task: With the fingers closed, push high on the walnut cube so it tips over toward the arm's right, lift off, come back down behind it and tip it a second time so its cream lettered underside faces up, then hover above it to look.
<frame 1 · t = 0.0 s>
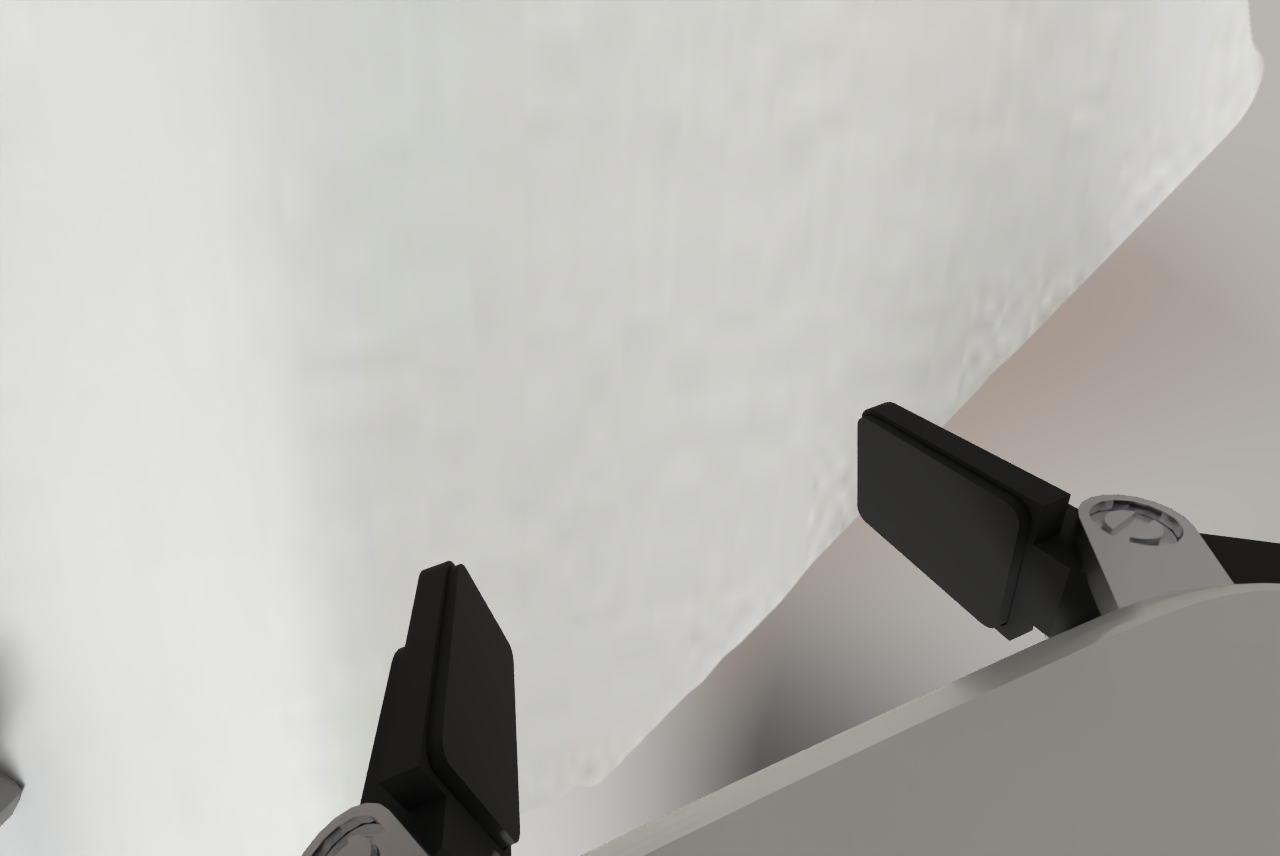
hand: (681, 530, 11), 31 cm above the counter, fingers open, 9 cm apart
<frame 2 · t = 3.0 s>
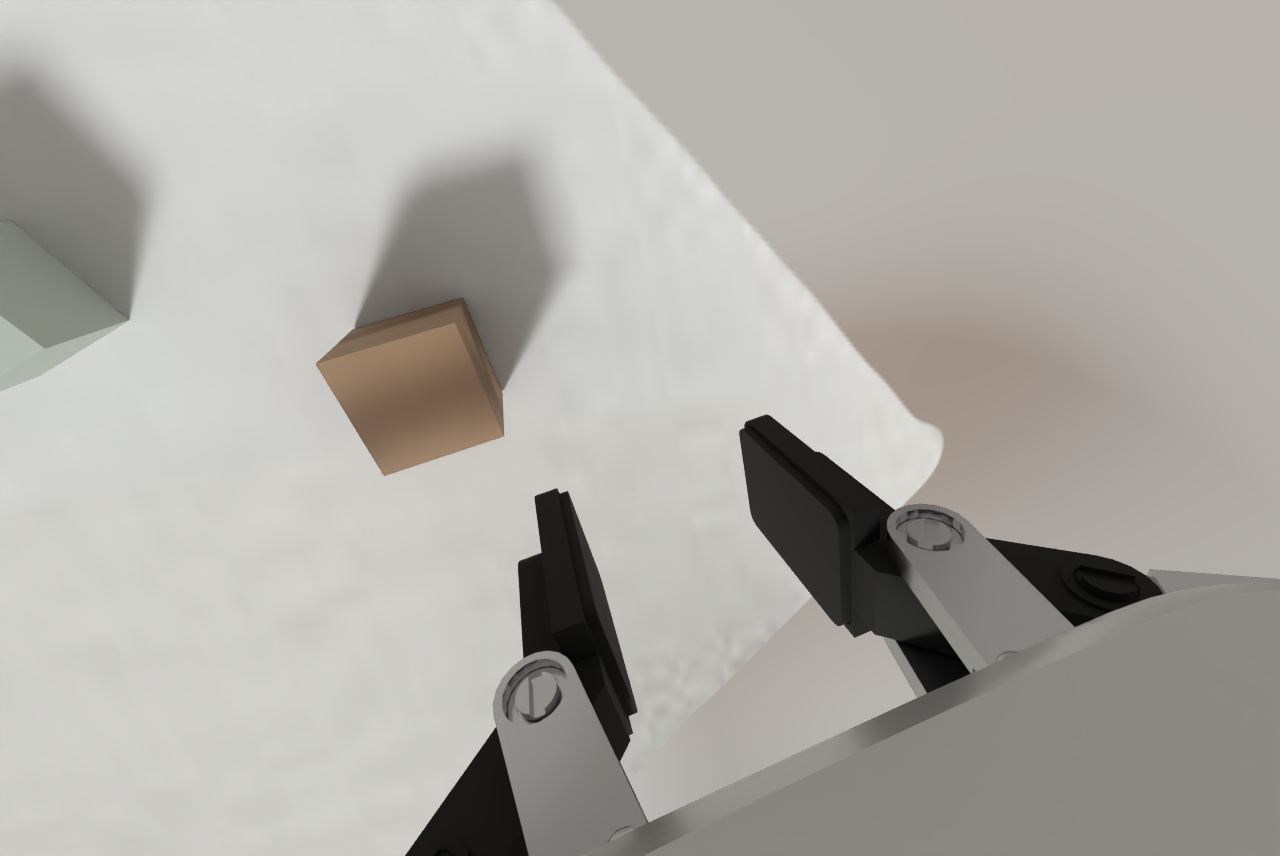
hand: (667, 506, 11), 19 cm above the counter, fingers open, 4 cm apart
sage block: (28, 302, 21), on the counter
walnut block: (432, 363, 27), on the counter
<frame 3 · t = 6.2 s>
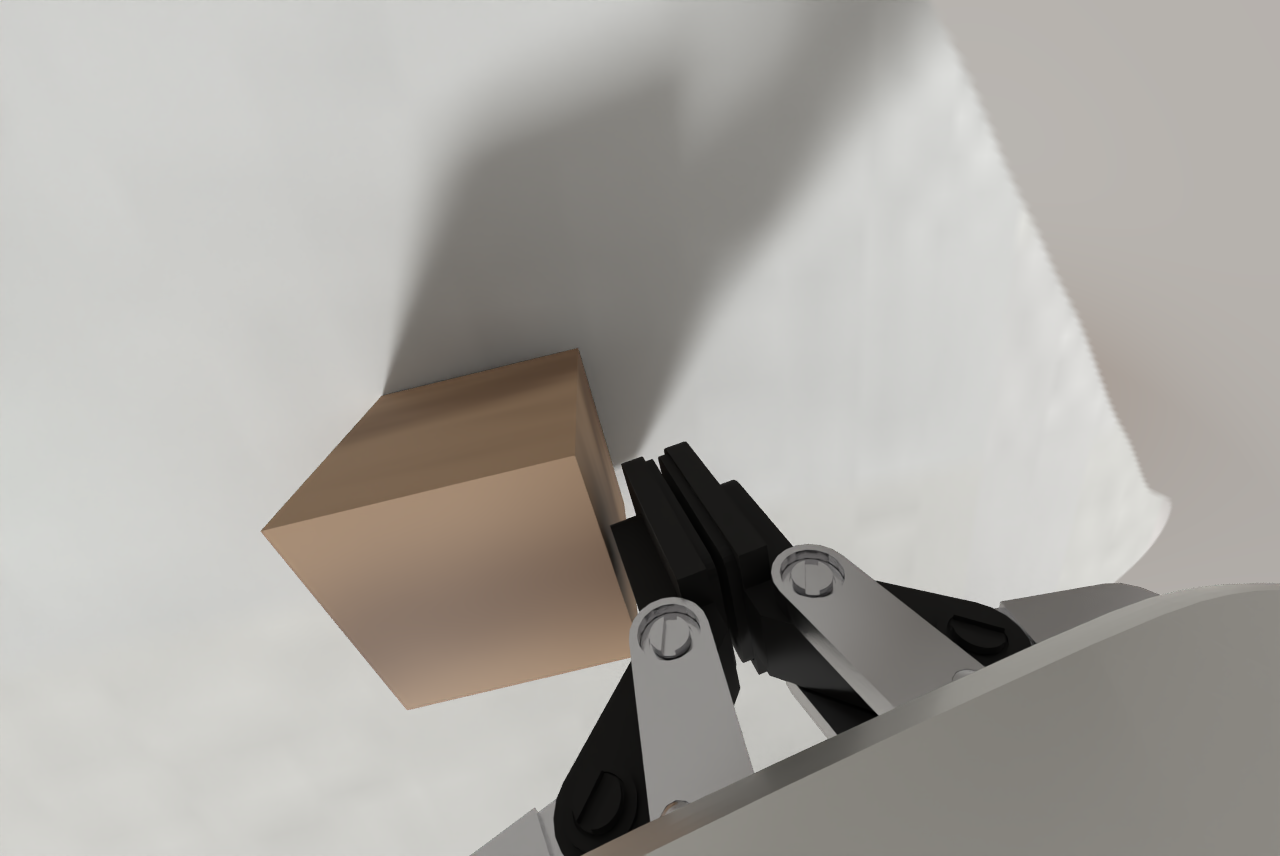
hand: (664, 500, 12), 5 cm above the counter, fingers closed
walnut block: (514, 454, 15), on the counter, tilted 10°, touching gripper
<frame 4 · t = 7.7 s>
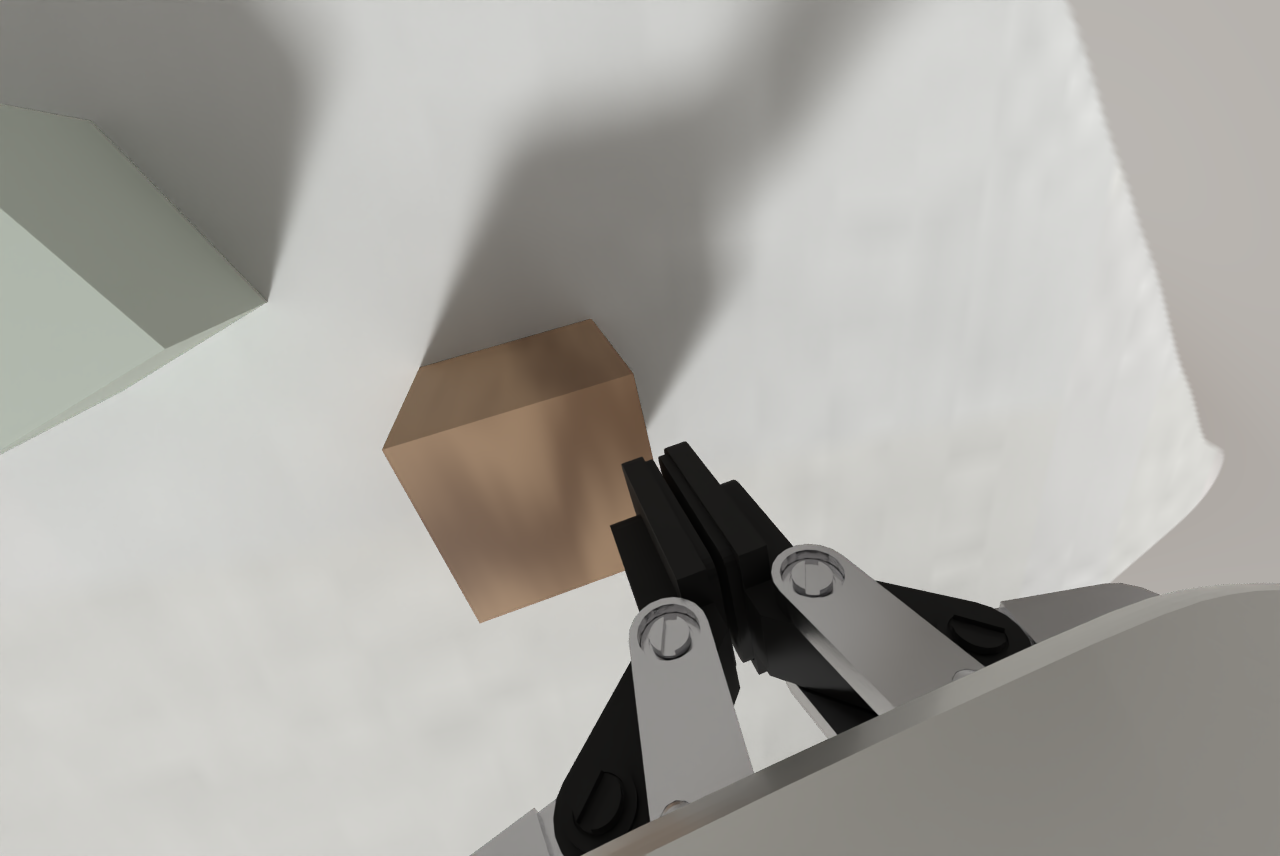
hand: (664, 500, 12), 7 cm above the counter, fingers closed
sage block: (110, 269, 13), on the counter
walnut block: (629, 426, 15), point 3 cm above the counter, tilted 90°
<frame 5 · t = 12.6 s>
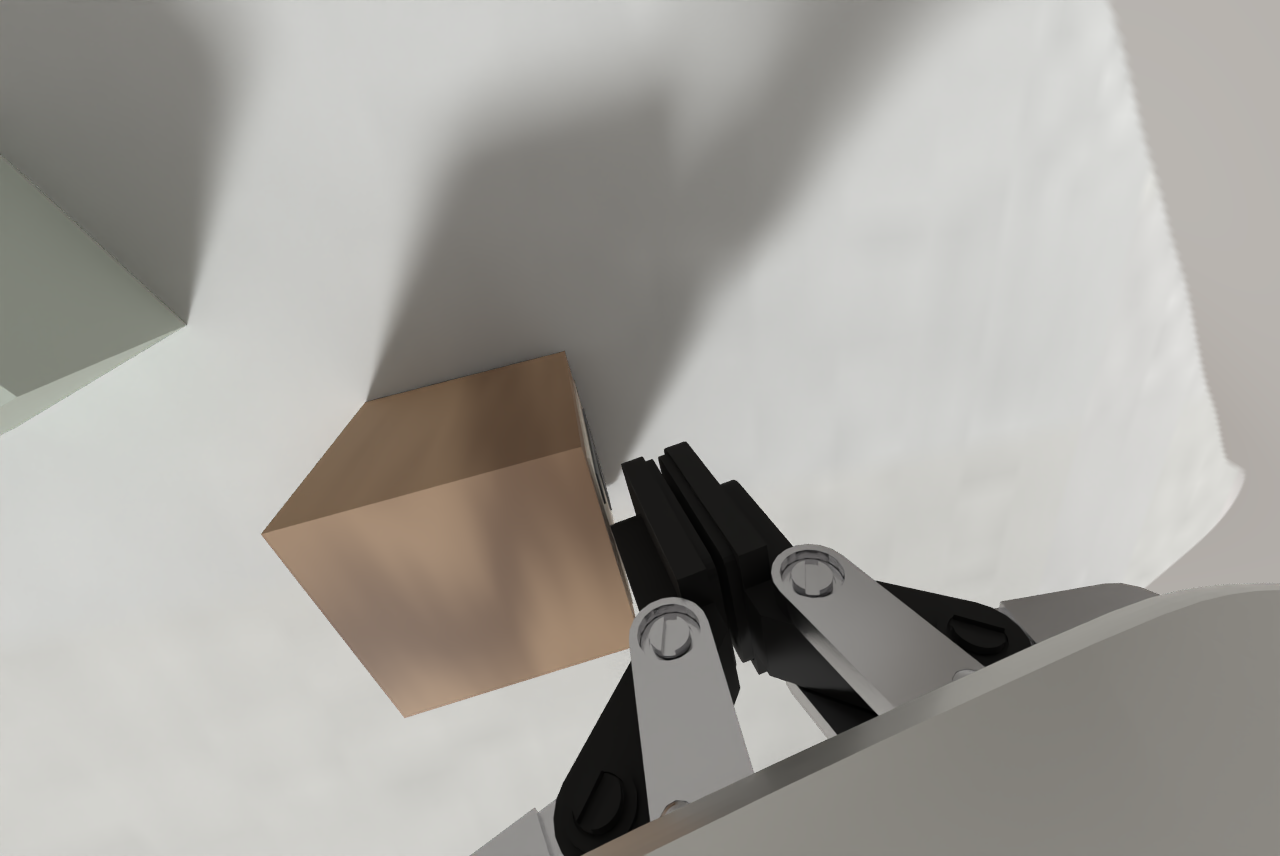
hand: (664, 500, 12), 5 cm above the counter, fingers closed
walnut block: (599, 484, 13), point 3 cm above the counter, tilted 95°, touching gripper
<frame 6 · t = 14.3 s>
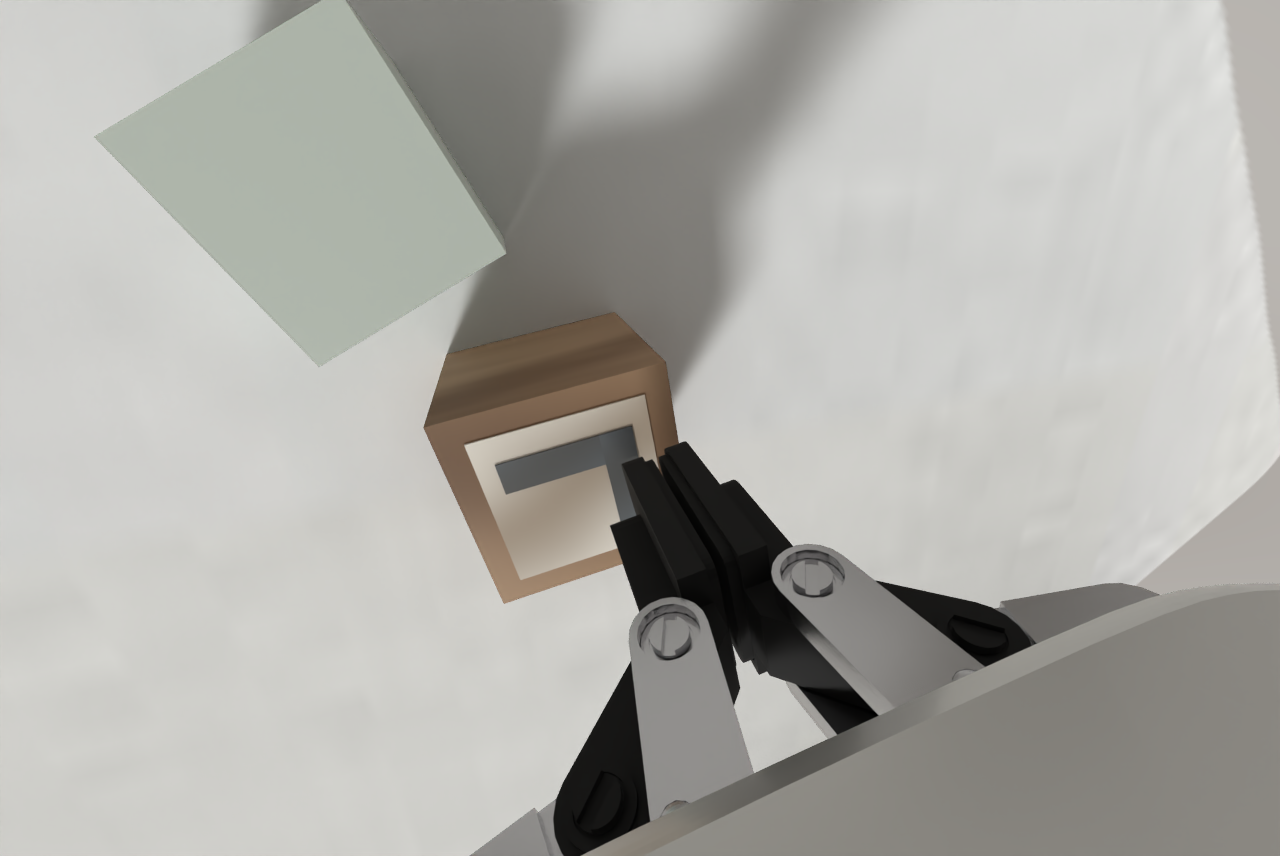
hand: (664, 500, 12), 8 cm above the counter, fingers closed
sage block: (380, 201, 14), on the counter
walnut block: (578, 491, 13), point 6 cm above the counter, tilted 180°
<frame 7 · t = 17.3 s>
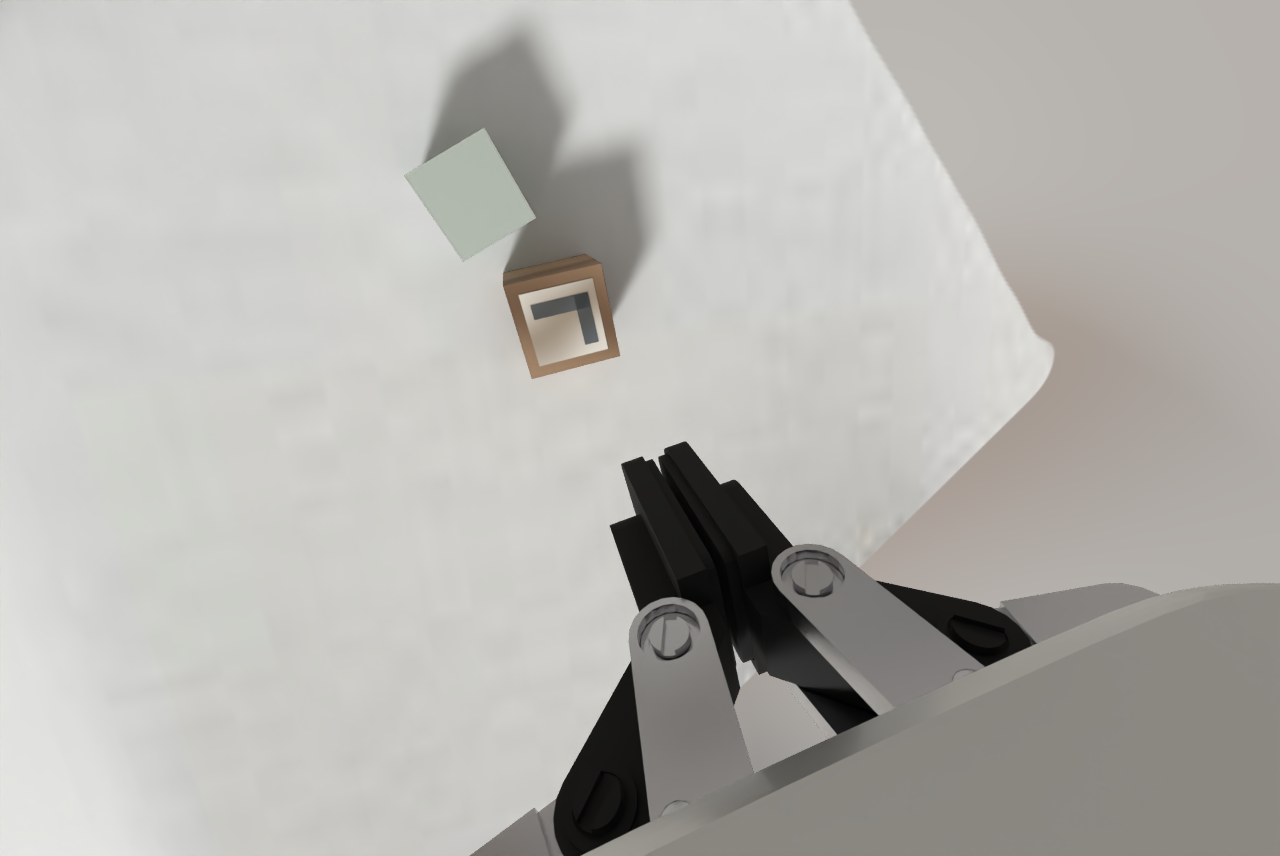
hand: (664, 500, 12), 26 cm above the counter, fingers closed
sage block: (477, 198, 31), on the counter
walnut block: (565, 323, 30), point 6 cm above the counter, tilted 180°
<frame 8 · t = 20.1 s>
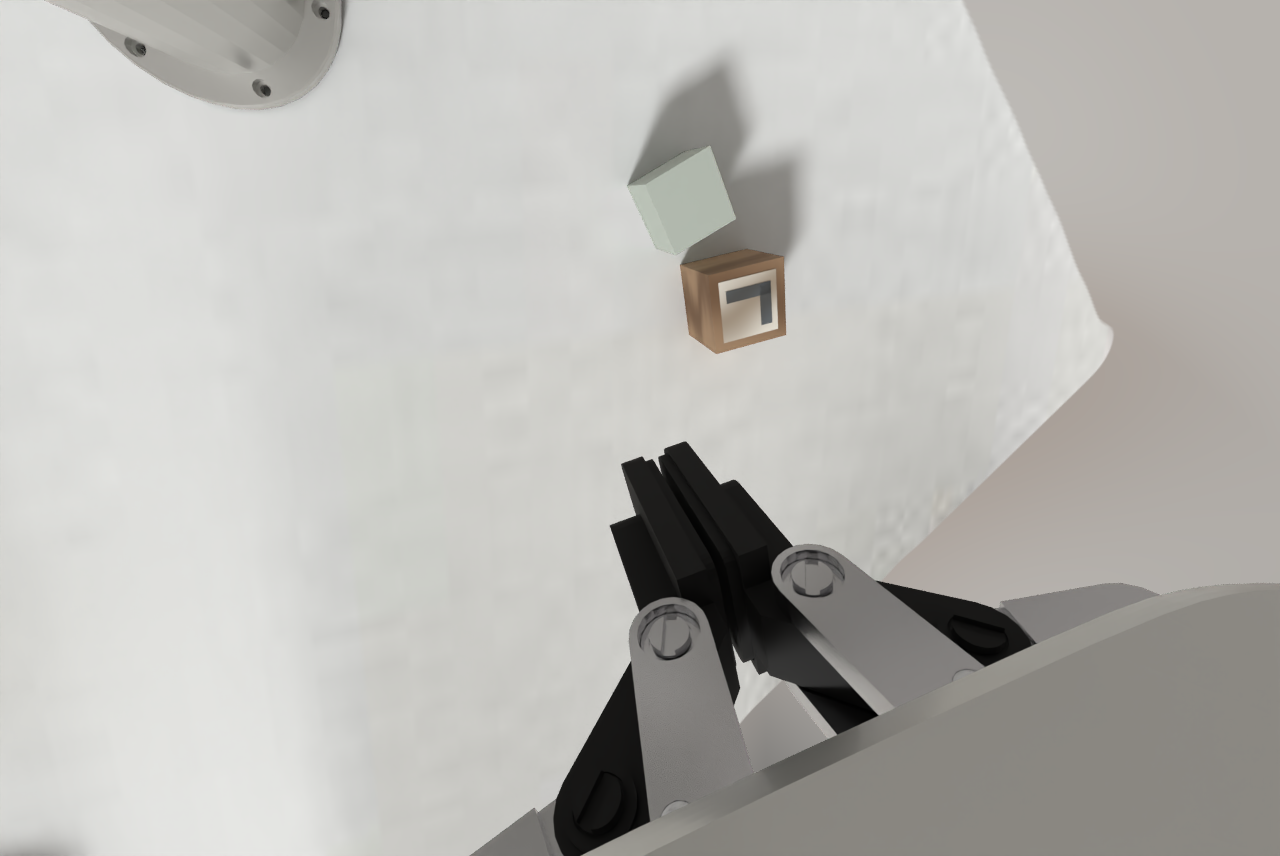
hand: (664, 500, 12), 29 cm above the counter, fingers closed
sage block: (669, 201, 36), on the counter
walnut block: (749, 306, 35), point 6 cm above the counter, tilted 180°
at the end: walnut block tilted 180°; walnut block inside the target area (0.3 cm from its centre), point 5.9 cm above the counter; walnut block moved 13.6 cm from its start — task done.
